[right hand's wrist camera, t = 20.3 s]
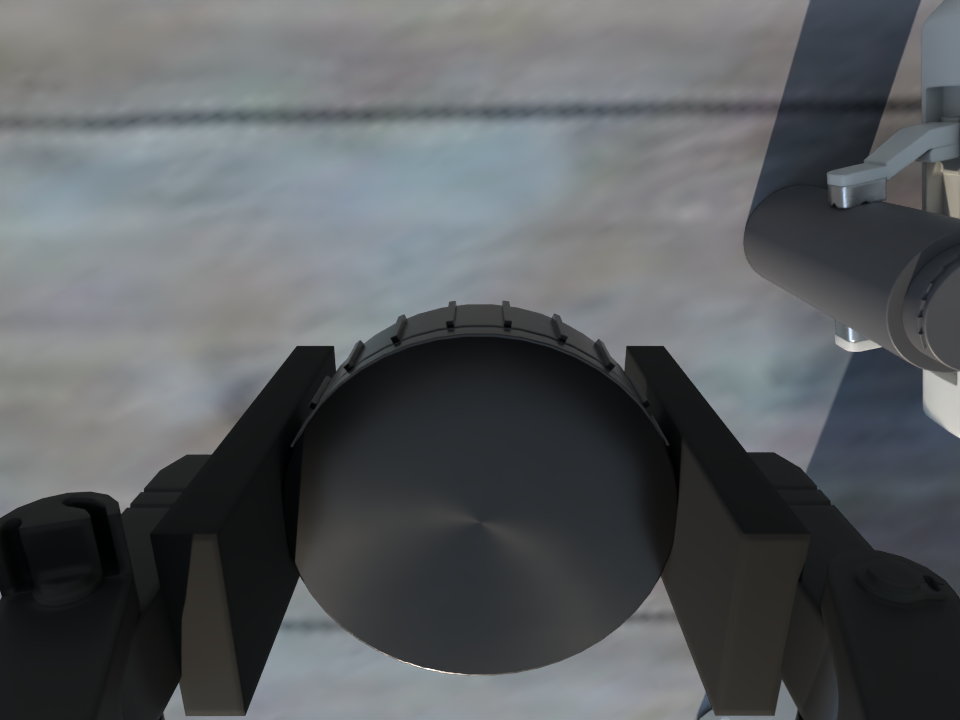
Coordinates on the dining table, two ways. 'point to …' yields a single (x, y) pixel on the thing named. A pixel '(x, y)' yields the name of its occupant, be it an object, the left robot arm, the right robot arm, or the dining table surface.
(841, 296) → the jar
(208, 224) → the dining table surface
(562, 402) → the lid
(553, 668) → the dining table surface
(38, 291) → the dining table surface
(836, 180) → the left robot arm
